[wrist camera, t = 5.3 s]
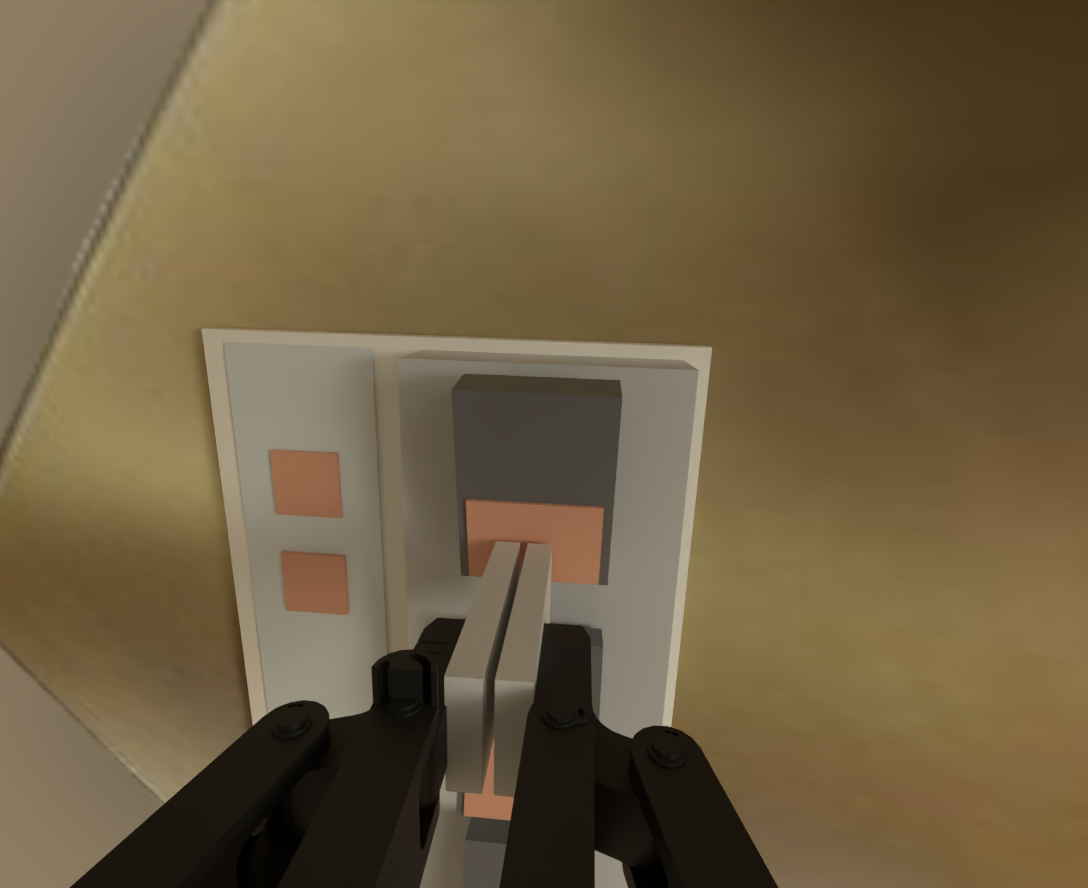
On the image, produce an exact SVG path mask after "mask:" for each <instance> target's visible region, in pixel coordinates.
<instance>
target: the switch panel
mask: <svg viewBox="0 0 1088 888" xmlns="http://www.w3.org/2000/svg"><path fill="white" fill-rule="evenodd" d="M202 336H203V344H204V352H205V360H206V367H207V375H208V383H209V391H210V398H211V406H212V414H213V421H214V429H215V437H216V445H217V452H218V460H219V468H220V476H221V483H222V491H223V499H224V507H225V514H226V522H227V530H228V538H229V545H230V553H231V561H232V569H233V576H234V584H235V592H236V600H237V607H238V615H239V623H240V631H241V638H242V646H243V654H244V662H245V669H246V677H247V685H248V693H249V700H250V708H251V716H252V724H253V725H254V724H255V723H257V722H258V721H259V720H260V719H261V718H262V717H263V716H265V715H266V714H268V713H269V712H271V711H272V710H273V709H275V708H277V707H279V706H282V705H284V704H287V703H289V702H295V701H301V700H307V701H316V702H318V703H320V704H322V705H324V706H325V707H326V709H327V710H328V712H329V719H333V718H339V717H345V716H352V715H356V714H360V713H364V712H366V711H368V710H370V708H371V706H372V704H373V692H372V671H371V667H372V666H373V665H374V663H375V662H376V661H377V660H378V659H380V658H382V657H383V656H385V655H387V654H389V653H392V652H396V651H399V650H410V649H414V647H415V645H416V643H418V639H419V637H420V635H421V633H422V631H423V629H424V628H425V627H426V626H427V625H429V624H430V623H431V622H433V621H434V620H435V619H436V618H452V619H466V618H467V616H468V613H469V610H470V608H471V605H472V603H473V600H474V597H475V595H476V592H477V590H478V587H479V584H480V582H481V579H482V577H474V576H461V566H460V547H459V528H458V508H457V489H456V470H455V450H454V431H453V412H452V392H451V389H452V388H453V387H454V385H455V384H456V383H457V382H458V380H459V379H460V378H461V376H462V375H463V374H484V375H508V376H532V377H556V378H580V379H604V380H620V384H621V391H622V408H621V421H620V434H619V447H618V459H617V472H616V485H615V498H614V510H613V523H612V536H611V549H610V561H609V574H608V586H607V585H592V584H577V583H563V582H551V596H550V623H549V624H564V625H579V626H583V627H585V628H599V629H602V639H603V659H602V678H601V696H600V715H599V721H600V722H601V723H602V724H603V725H604V726H606V727H607V728H609V729H610V730H612V731H614V732H616V733H619V734H621V735H624V736H627V737H630V738H633V737H634V735H635V734H636V733H637V732H639V731H640V730H641V729H643V728H646V727H650V726H654V725H656V726H669V727H671V724H672V714H673V705H674V696H675V687H676V677H677V668H678V659H679V650H680V640H681V631H682V622H683V613H684V603H685V594H686V585H687V576H688V567H689V557H690V548H691V539H692V530H693V520H694V511H695V502H696V493H697V483H698V474H699V465H700V456H701V446H702V437H703V428H704V419H705V410H706V400H707V391H708V382H709V373H710V363H711V354H712V347H710V346H707V345H687V344H659V343H632V342H605V341H578V340H551V339H524V338H496V337H469V336H442V335H415V334H388V333H360V332H333V331H306V330H279V329H252V328H225V327H215V328H203V329H202ZM456 801H457V792H450V791H446V775H444V779H443V782H442V785H441V789H440V813H439V818H438V821H437V825H436V829H435V832H434V836H433V840H432V843H431V847H430V851H429V855H428V858H427V862H426V866H425V869H424V873H423V877H422V880H421V884H420V888H463V874H464V849H465V838H466V834H467V831H468V827H469V824H470V820H471V817H469V816H459V815H456ZM595 888H628V886H627V883H626V880H625V876H624V873H623V868H622V862H621V861H618V860H616V859H614V858H611V857H609V856H607V855H605V854H602V853H600V852H598V851H595Z"/></svg>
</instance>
